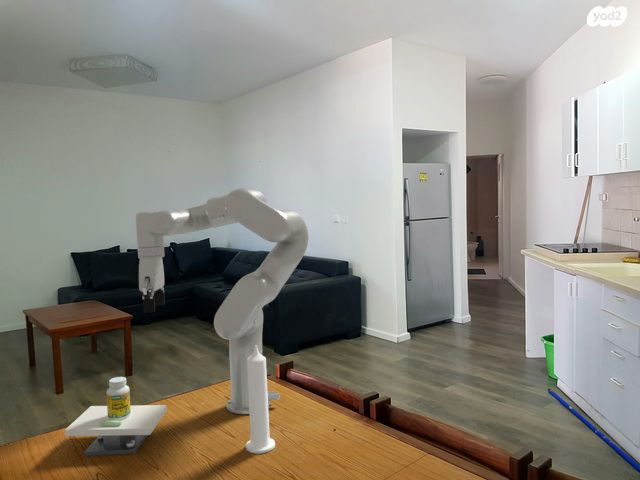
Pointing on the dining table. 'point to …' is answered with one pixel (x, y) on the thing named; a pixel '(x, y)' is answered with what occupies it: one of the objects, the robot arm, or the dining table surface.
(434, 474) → the dining table surface
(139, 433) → the level board
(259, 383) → the candle
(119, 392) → the supplement bottle
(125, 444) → the tribrach base
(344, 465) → the dining table surface
